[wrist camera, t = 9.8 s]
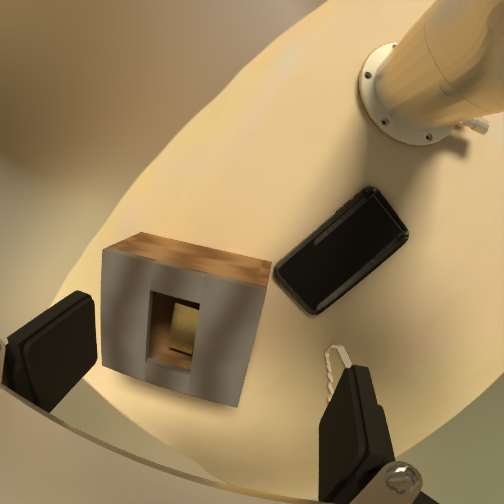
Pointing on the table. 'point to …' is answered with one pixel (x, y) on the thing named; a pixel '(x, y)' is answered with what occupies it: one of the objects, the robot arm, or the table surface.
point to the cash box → (162, 307)
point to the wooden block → (184, 325)
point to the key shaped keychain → (345, 360)
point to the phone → (342, 251)
